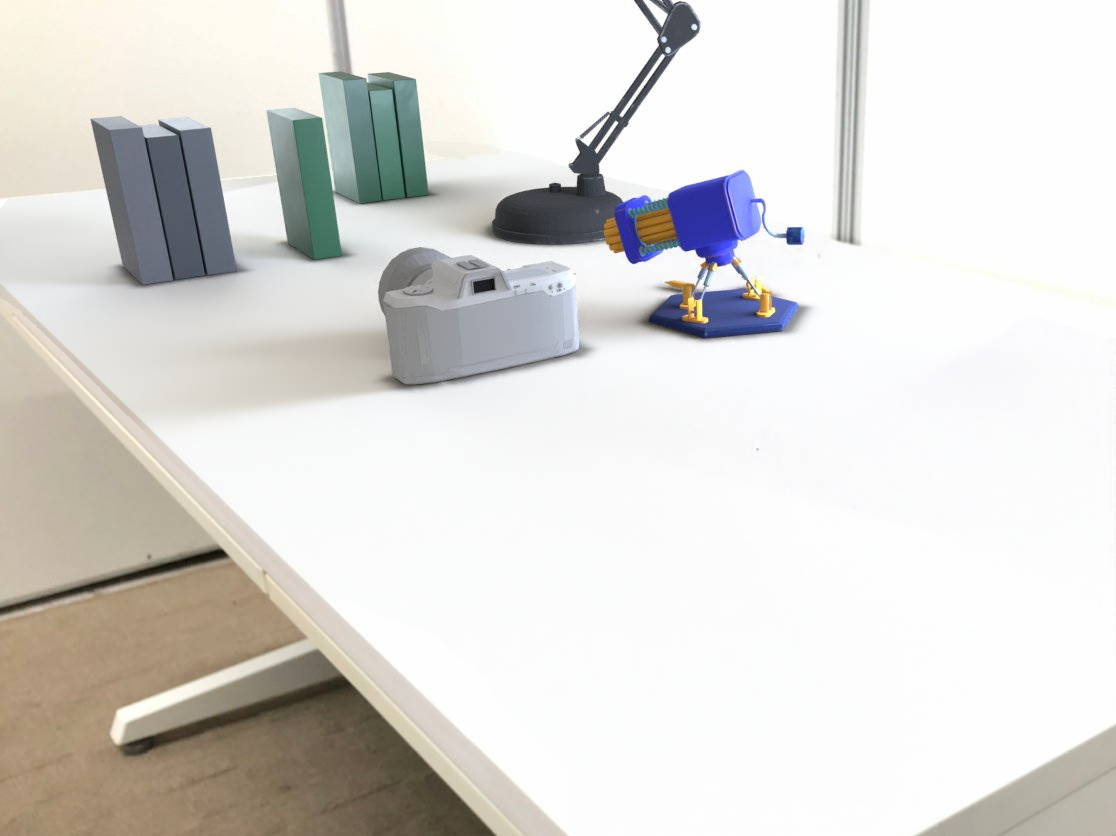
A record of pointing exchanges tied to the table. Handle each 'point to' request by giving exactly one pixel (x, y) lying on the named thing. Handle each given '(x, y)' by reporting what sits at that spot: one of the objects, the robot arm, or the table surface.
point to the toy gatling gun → (704, 254)
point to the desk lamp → (592, 156)
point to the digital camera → (473, 315)
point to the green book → (304, 182)
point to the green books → (374, 135)
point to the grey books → (165, 198)
